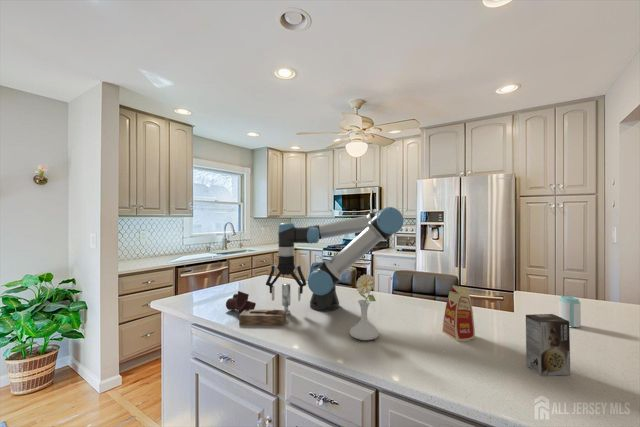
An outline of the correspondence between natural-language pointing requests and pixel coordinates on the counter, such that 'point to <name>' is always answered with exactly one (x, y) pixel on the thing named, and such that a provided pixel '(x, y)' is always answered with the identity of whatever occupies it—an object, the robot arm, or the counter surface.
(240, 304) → the dark brown lumpy piece
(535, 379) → the counter surface
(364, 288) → the flower in vase
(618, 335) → the counter surface
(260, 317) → the keyhole block
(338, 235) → the robot arm
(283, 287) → the steel peg
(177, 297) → the counter surface
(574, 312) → the can
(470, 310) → the milk carton
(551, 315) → the grey cardboard box
